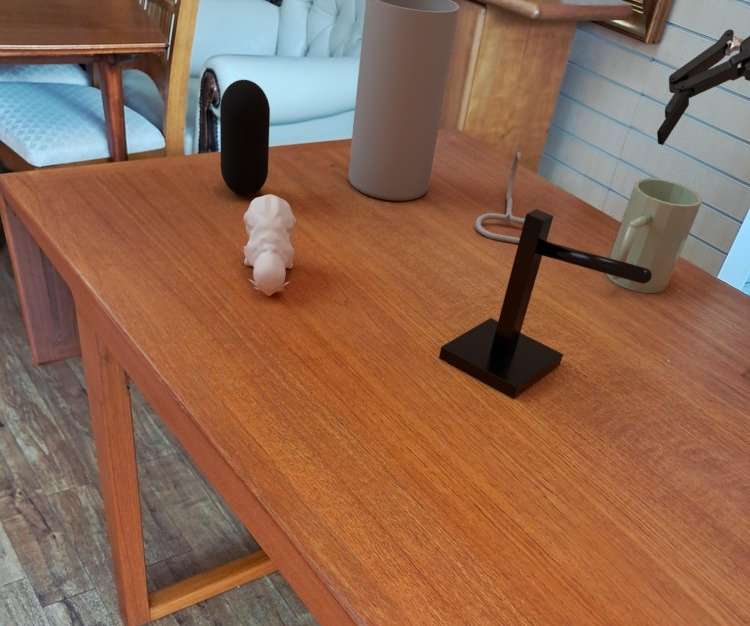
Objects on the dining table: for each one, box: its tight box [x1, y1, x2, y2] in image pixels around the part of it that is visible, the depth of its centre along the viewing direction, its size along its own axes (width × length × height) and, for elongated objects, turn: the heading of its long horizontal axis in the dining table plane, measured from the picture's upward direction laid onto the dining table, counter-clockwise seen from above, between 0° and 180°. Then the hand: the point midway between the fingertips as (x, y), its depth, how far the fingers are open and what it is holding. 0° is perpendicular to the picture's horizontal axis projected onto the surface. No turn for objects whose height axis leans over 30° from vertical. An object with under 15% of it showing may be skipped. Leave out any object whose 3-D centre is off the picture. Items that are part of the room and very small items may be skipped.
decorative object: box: [219, 79, 271, 197], centre depth 108 cm, size 7×7×15 cm
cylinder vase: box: [347, 0, 460, 202], centre depth 114 cm, size 12×12×25 cm
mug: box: [605, 178, 703, 294], centre depth 104 cm, size 13×9×12 cm, turn 140°
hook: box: [474, 151, 525, 245], centre depth 118 cm, size 7×9×20 cm
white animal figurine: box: [243, 193, 297, 297], centre depth 93 cm, size 6×8×12 cm
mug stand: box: [438, 208, 652, 399], centre depth 81 cm, size 18×10×17 cm, turn 50°
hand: (705, 155), depth 106 cm, fingers open, 13 cm apart
